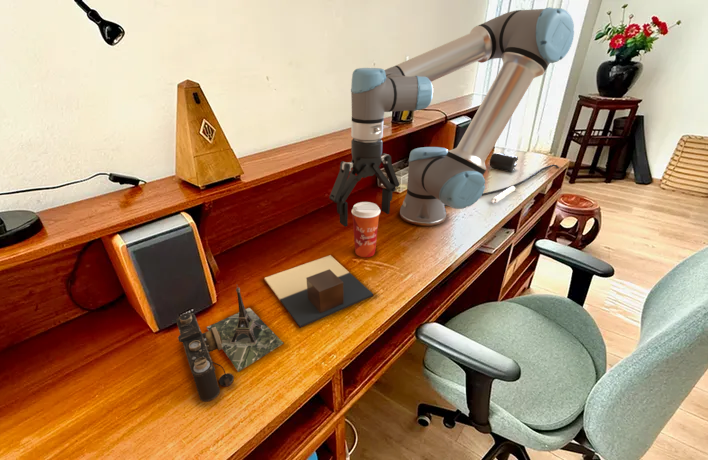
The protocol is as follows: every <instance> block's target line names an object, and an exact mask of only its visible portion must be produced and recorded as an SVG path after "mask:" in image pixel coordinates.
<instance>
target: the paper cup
mask: <svg viewBox="0 0 708 460" xmlns="http://www.w3.org/2000/svg"><path fill="white" fill-rule="evenodd" d="M381 212H382V211H381V208H380V207H379V205H378V204H377V203H374V202H371V201H360V202H357V203H355V204H354V205H353V207H352V209H351V214H352V224H353V240H354V241H353V242H354V251H355V252H354V253H355V254H356V256H358V257H359V258H370V257H373V256H375V253H376V250H377V249H376V247H377V239H378V231H379V229H378V227H379V218H380V215H381Z"/></svg>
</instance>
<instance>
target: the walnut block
mask: <svg viewBox="0 0 708 460" xmlns="http://www.w3.org/2000/svg"><path fill="white" fill-rule="evenodd" d="M306 279H307V292H308V299H309V300H310V302H311V303H312V304H313V305H314V306H315V308H316V309H317V310H318V311H319V312H320V313H323V312H325V311H327V310H330V309H332V308H334V307H337V306H339V305H341V304H344V295H343V282H342V281H341V280H340V279H339V278H338V277H337V276H336V275H335V274H334V273H333V272H332V271H331V270H330V269H329V270H326V271H323V272H321V273H318V274H315V275H312V276H310V277H307V278H306Z"/></svg>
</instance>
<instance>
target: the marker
mask: <svg viewBox="0 0 708 460" xmlns="http://www.w3.org/2000/svg"><path fill="white" fill-rule="evenodd" d="M510 186H511V187H509V186H508V187H509V188H508V189H506V190H503V191H501V192H500V193H499V194H497V195H495V196H494V197H493V198H491V201H490V202H491V203H492V204H496V203H499V201H502V200H503V199H505V197H507V196H509V195H510V194H512V193H513V192H515V191H516V186H515V187H514V186H512V185H510Z"/></svg>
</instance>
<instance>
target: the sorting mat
mask: <svg viewBox="0 0 708 460" xmlns="http://www.w3.org/2000/svg"><path fill="white" fill-rule="evenodd" d="M329 269H330V270H331V271H332V272H333V273H334V274H335V275H336V276H337V277H338V278H339V279H340V280H341V281H342V282H343V295H344V304H341V305H339V306H337V307H334V308H332V309H330V310H327V311H325V312H323V313H320V312H319V311H318V310H317V309H316V308H315V306H314V305H313V304H312V303H311V302H310V300H309V299H308V292H307V279H306V278H307V277H310V276H312V275H315V274H318V273H321V272H323V271H326V270H329ZM263 279H264V281H265V283H266V284H267V285H268V286H269V288H270V289H271V291H272V292H273V294H274V295H275V296H276V297H277V299H278V300H279V302H280V303H281V304H282V306H283V307H284V308H285V310H286V311H287V312H288V313H289V315H290V316H291V318H292V319H293V320H294V322H295V323H296V324H297V326H298V327H299V328H300V329H301V328H304V327H305V326H307V325H310V324H312V323H315V322H317V321H319V320H321V319H323V318H326V317H328V316H330V315H333V314H335V313H337V312H339V311H342V310H344V309H346V308H348V307H351V306H354V305H356V304H359V303H360V302H362V301H365V300H367V299H370V298H371V297H374V292H372V291H371V290H370V289H368V288H367V287H366V286H365V285H364V284H363V283H362V282H361V281H360V280H359V279H357V278H356V277H355V276H354V275H353V274H352V273H351V272H350V271H348V269H346V268H345V267H344V266H343V265H342V264H341V263H339V261H338V260H336V259H335V258H334V257H333V256H332V255H331V254H330V255H326V256H323V257H321V258H318V259H315V260H312V261H309V262H306V263H304V264H300V265H297V266H295V267H292V268H289V269H286V270H283V271H280V272H276V273H274V274H271V275H268V276H266V277H264V278H263Z"/></svg>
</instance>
